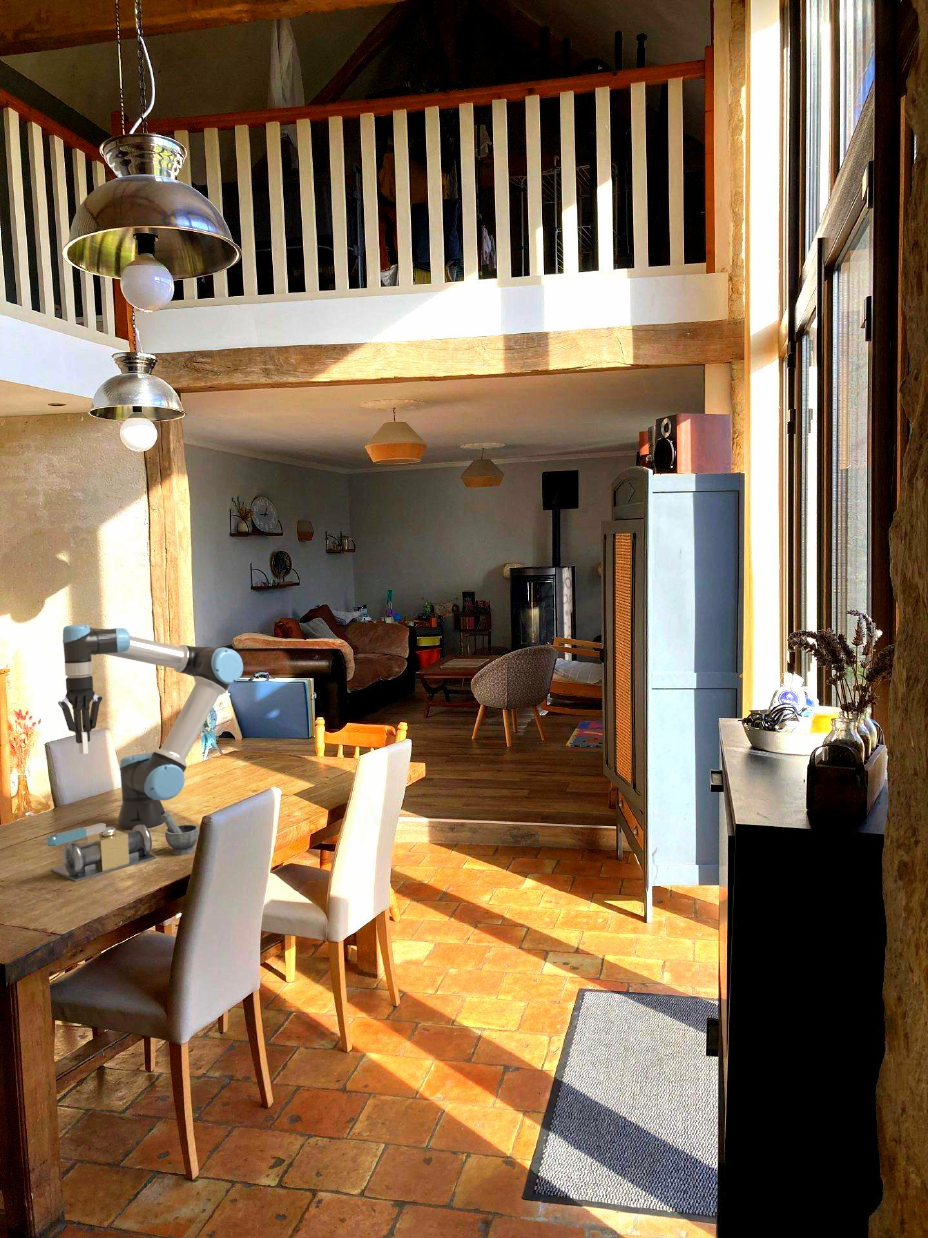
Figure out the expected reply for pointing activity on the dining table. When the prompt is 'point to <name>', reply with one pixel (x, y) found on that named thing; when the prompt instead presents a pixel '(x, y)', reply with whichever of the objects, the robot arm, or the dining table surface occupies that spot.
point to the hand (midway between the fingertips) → (83, 753)
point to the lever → (80, 834)
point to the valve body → (105, 853)
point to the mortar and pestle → (180, 835)
